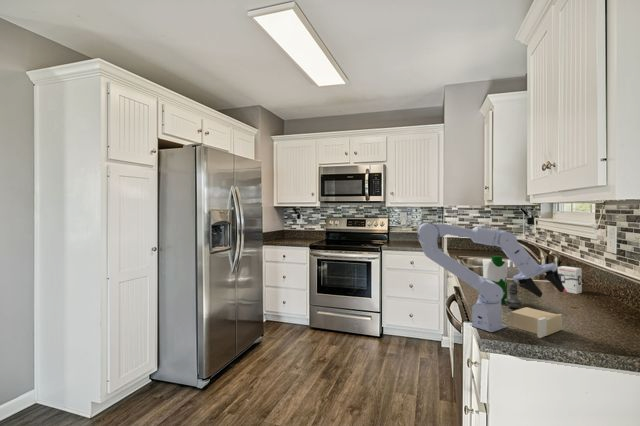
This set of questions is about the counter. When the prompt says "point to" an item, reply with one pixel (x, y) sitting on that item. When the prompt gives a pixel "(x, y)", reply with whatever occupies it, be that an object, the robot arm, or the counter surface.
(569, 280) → the ink box
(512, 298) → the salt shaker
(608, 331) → the counter surface
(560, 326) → the flap
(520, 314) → the carton
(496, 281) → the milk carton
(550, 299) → the counter surface
